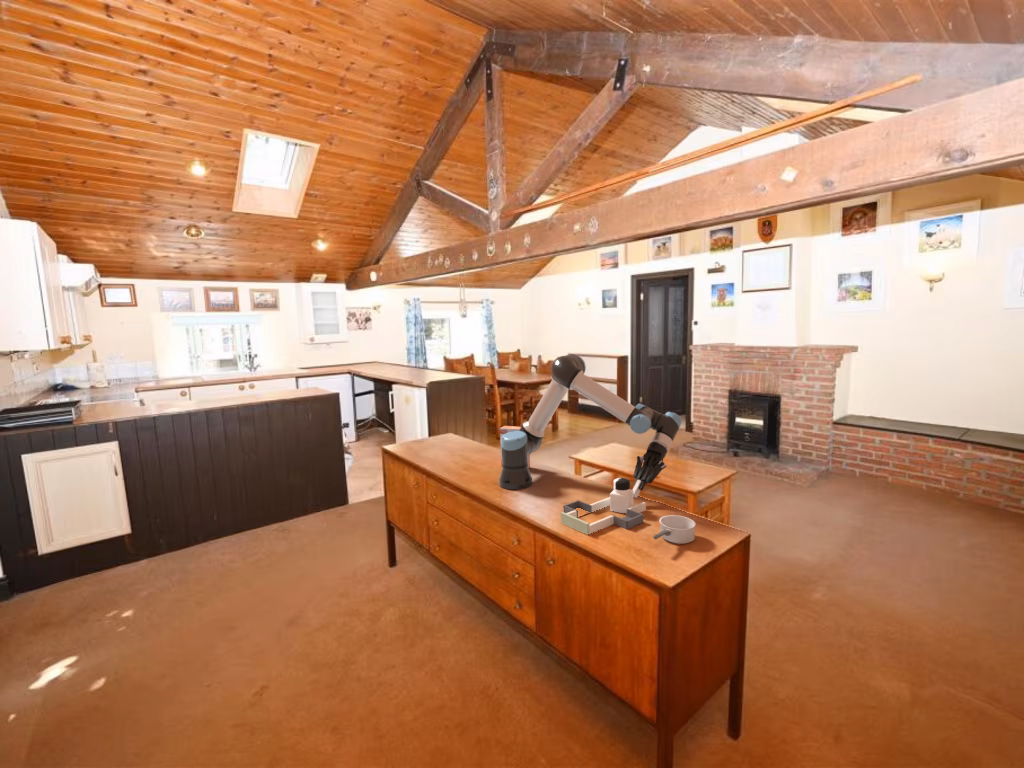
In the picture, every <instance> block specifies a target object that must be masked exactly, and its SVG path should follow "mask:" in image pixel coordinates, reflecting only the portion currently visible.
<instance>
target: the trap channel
mask: <svg viewBox="0 0 1024 768" xmlns="http://www.w3.org/2000/svg"><path fill="white" fill-rule="evenodd" d="M609 505H610V496H609V497H606V498H603V499H601V500H598V501H595V502H593V503H591V504H589V503H587V502H585V501H582V500H579V499H578V500H575V501H573V502H570V503H566V504H565V505H562V507H563V512H564V513H566V514H569V515H571V516H573V517H576V518H578V511H577V510H575V509H576V508H581V509H583V510H585V511H588V512H590V514H592V513H591V512H593V513H595V512H597V511H596V510H598V511H600V510H602V508H603V509H605V508H608V507H610V506H609ZM607 506H608V507H607ZM646 506H647V504H646V502H644V501H642V502H640V503H637V504H635V505H633V506H632V507H630V508H628V509H627V514H626V515H625V516H624V517H620V516H616V515H614V514H611V515H608V516H605V517H603V518H601V519H598V520H596V521H594V522H591V523H589V535H591V533H592V534H594V533H596V532H599V531H601V530H603V529H605V528H608V527H611V526H612V525H616V527H617V526H618V527H620V528H623V529H625V530H628V529H632V528H634V527H636V526H639V525H641V524H642V523H644V514H643V513H642V512H645V511H646V509H647V507H646ZM604 507H605V508H604ZM599 509H600V510H599ZM594 511H595V512H594ZM588 512H587V513H588ZM578 519H579V518H578ZM600 529H601V530H600ZM598 530H599V531H598ZM593 532H594V533H593Z"/></svg>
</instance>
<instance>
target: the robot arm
mask: <svg viewBox="0 0 1024 768" xmlns="http://www.w3.org/2000/svg"><path fill="white" fill-rule="evenodd" d="M586 369H587V367H586V362H585V361H584V359H583V358H582V357H581V356H579V355H577V354H573V353H569V354H566V355H560V356H559V357H556V358H555V359H554V361H553V362H552V363H551V366H550V372H551V374H550V378H551V381H550V383H549V385H548V387H547V388H546V390H545V391H544V394H543V395H542V397H541V398H540V400H539V401H538V403H537V405H536V407H535V408H534V411H533V412H532V414H531V415H530V417H529V419H528V421H524V422H523V423H522V425H521V426H520V427H521V428H520V430H519V431H512V432H508V433H506V434H504V435H503V436H502V442H500V447H501V446H502V466H501V468H502V469H501V472H500V476H499V479H498V480H499V481H498V482H499V483H498V484H499V487H501V488H503V489H505V490H506V489H507V490H523V489H527V488H529V487H531V486H532V485H533V477H532V475H531V474H532V473H531V472H530V469H529V468H528V455H529V454H530V455H531V454H532V453H534V452H536V451H537V450H538V449H540V447H541V445H542V443H543V442H542V441H543V438H544V436H545V434H546V433H545V429H546V427H547V425H548V424H549V422H550V421H551V419H552V417H553V416H554V414H555V412H556V410H557V409H558V407H559V406H560V404H561V403H562V401H563V399H564V397H565V396H566V394H567V392H568V391H569V390H570V391H573V390H574V391H575V392H577V393H578V394H580V395H582V396H583V397H585V398H587V399H588V400H589V401H590V402H592V403H593V404H595V405H598V407H600V408H602V410H603V409H604V410H605V412H608V413H610V414H611V415H613V416H614V417H616V418H617V419H619V420H620V421H622V422H624V423H625V424H626V425H628V426H630V429H631V431H633V433H635V434H638V435H639V434H645V433H646V432H648V431H649V430H650V429H652V430H653V431H655V433H654V435H653V437H652V439H651V441H650V443H649V444H648V446H647V448H646V452H645V453H643V455H641V456H640V455H637V457H636V464H635V468H634V471H633V475H632V476H633V478H634V480H635V481H634V483H633V484H632V487H633V488H632V490H633V498H635V499H637V498H638V496H639V495H640V493H641V491H643V490H644V488H645V486H646V485H647V484H649V485H651V484H652V483H653V482H654V480H655V479H656V478H657V477H658V476H659V474H660V473H661V472H662V471H663V470H664V469H665V468H667V464H665V462H664V459H665V458H666V455H667V453H668V450H669V449H670V447H671V445H672V443H673V441H674V440H675V438H676V436H677V434H678V432H679V430H680V428H681V425H682V423H683V420H682V417H681V416H680V415H679V414H677V413H675V412H671V411H666V413H664V414H663V413H661V412H658V411H656V410H654V409H652V408H650V407H648V406H647V405H644V404H642V403H638V404H636V405H635V406H634V405H633V404H631V403H630V402H629V401H626V400H625V399H624V398H621V397H620V396H618V395H617V394H615V393H614V392H612V391H611V390H609V389H607V388H606V387H605V386H603V385H601V384H599V383H598V382H597V381H595V380H593V379H591V377H589V376H588V375H585V373H586Z"/></svg>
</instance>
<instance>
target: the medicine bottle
mask: <svg viewBox="0 0 1024 768" xmlns="http://www.w3.org/2000/svg"><path fill="white" fill-rule="evenodd" d="M609 497H610V506H609V510H610V512H613V511H614V512H615V513H620V514H624V513H625V514H626V515H627V509H628V508H630V507H632V506H634V497H633V489H631V483H630V479H627V478H624V477H617V478H615V479H613V490H612V491H611V492H610V493H609ZM625 514H624V515H625Z"/></svg>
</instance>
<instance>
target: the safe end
mask: <svg viewBox="0 0 1024 768" xmlns="http://www.w3.org/2000/svg"><path fill="white" fill-rule="evenodd" d="M560 523H561V524H562V525H564V524H565V525H564V526H566V525H567V526H566V527H568V526H569V528H570V527H571V528H570V529H573V528H574V529H573V530H575V529H576V530H575V531H577V530H578V531H577V532H579V531H580V532H579V533H581V532H582V533H581V534H583V533H585V534H584V535H586V534H587V535H586V536H589V535H590V534H589V524H590V523H589V522H587V521H585V520H583V519H581V518H576V517H573V516H571V515H569V514H566V513H564V511H562V512H560ZM588 534H589V535H588Z"/></svg>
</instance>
